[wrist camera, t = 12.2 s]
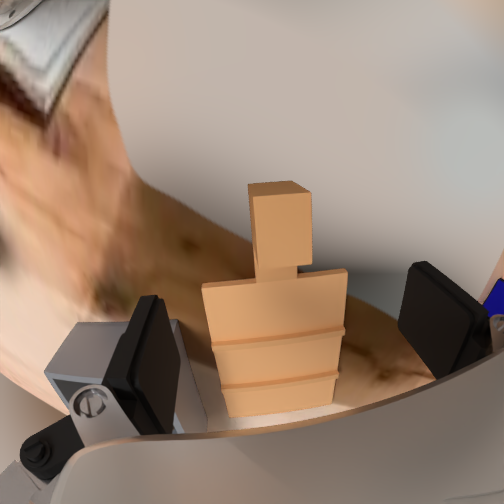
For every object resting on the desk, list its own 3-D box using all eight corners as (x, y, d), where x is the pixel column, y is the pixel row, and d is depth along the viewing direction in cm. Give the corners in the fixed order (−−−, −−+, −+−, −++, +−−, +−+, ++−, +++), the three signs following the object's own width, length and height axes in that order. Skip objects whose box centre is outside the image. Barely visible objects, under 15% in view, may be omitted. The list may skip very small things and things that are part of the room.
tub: (77, 322, 22) (43, 371, 15) (177, 319, 22) (161, 380, 16) (126, 416, 27) (113, 463, 20) (207, 419, 27) (205, 471, 21)
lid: (188, 190, 19) (174, 205, 14) (346, 178, 19) (379, 189, 14) (229, 412, 27) (230, 449, 22) (329, 398, 27) (341, 433, 23)
